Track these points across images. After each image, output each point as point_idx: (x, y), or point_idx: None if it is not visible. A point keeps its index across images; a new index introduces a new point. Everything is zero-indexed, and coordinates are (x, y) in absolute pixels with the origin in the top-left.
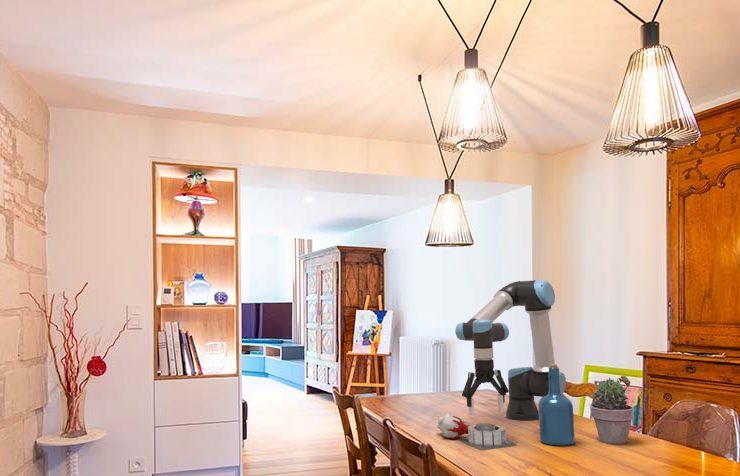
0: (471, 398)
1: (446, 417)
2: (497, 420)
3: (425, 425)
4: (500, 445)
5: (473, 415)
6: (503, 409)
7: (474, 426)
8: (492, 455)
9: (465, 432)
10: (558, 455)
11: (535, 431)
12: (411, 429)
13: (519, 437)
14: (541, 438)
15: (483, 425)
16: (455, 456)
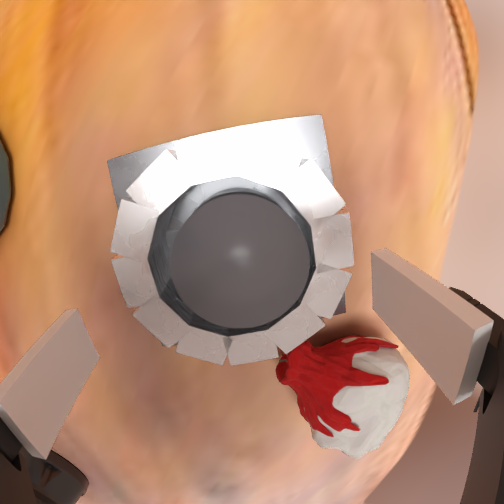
0: (480, 349)
1: (398, 409)
2: (111, 475)
3: (334, 476)
4: (200, 134)
5: (380, 251)
6: (57, 320)
7: (291, 317)
8: (298, 27)
9: (310, 343)
10: (50, 8)
11: (13, 350)
12: (393, 445)
13: (63, 296)
14: (3, 183)
15: (256, 266)
16: (439, 80)
